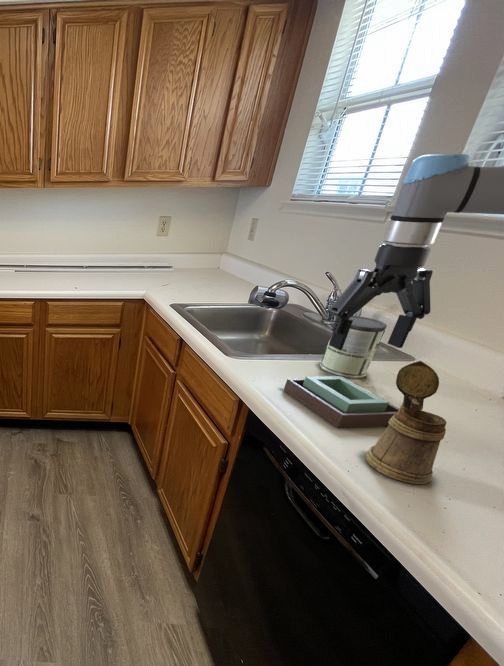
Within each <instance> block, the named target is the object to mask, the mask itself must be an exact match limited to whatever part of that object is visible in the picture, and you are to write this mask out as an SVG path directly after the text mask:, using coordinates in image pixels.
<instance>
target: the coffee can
mask: <svg viewBox="0 0 504 666" xmlns="http://www.w3.org/2000/svg"><path fill="white" fill-rule="evenodd" d="M349 319H351V320H353V322H352V324H351V327H350V330H349V332H348V335H347V338H346V340H345V343H344V346H343V348H342V350H338V349H336V348H334V347H332V346H330V345H329V343H330V340H331V337H332V335H333V332H331V335H330V337H329V340H328V343H327V346H326V348H325V351H324V354H323V356H322V359H321V362H320V364H319V367H320V368H321V369H322V370H324V371H326V373H327V372H328V373H329V374H332V375H334V376H342V377H343V378H351V379H361V378H364V377H366V375H367V372H368V370H369V367H370V365H371V363H372V360H373V358H374V355H375V353H376V351H377V348H378V346H379V344H380V341H381V339H382V337H383V334H384V333H385V330H386V329H387V327H388V325H387V324H386V323H385V322H383V321H381V320H378V319H375V318H370V317H366V316H360V315H353V316H352V317H350V318H349Z"/></svg>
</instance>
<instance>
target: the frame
mask: <svg viewBox="0 0 504 666" xmlns="http://www.w3.org/2000/svg"><path fill="white" fill-rule="evenodd" d="M304 379H305V380H304V383H303V386H302V387H303V388H305V389H306V390H308V391H309V392H311V393H313V394H314V395H316V396H317V397H319V398H320V399H322V400H323V401H325V402H326V403H328V404H330V405H331V406H333V407H334V408H336V409H337V410H339V411H340V412H342V413H372V412H385V410H386V408H387V406H388V404H389V403H390V402H389V401H387V400H385V399H383V398H381V397H380V396H378V395H376V394H374V393H372V392H371V391H369V390H367V389H365V388H363V387H362V386H359V385H358V384H356V383H355V382H352V381H350V380H349V379H348V378H346V377H344V376H339V375H332V376H331V375H327V376H322V375H321V376H305V377H304Z"/></svg>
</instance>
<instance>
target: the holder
mask: <svg viewBox="0 0 504 666" xmlns="http://www.w3.org/2000/svg"><path fill="white" fill-rule="evenodd" d="M304 380H305V378H287V379H286V382H285V385H284V388H283V391H284V392H285V393H287V394H288V395H290V396H292V398H294V399H295V400H297V401H299V402H300V403H301V404H303V405H304V406H306V407H307V408H308V409H310V410H311V411H313V412H314V413H316V414H317V415H319V416H320V417H321V418H323V419H324V420H325V421H327V422H328V423H330V424H331V425H333V426H334V427H336V428H337V429H338V428H339V429H342V428H344V429H345V428H368V427H369V428H370V427H373V428H374V427H388V426H389V423H388V422H389V420H390V418H391V417H392V416H393V415H394V414H397V413H398V411H399V409H400V407H397V406H395V405H394V404H392V403H390V402H389V404H388V406H387V408H386V410H385V412H372V413H342V412H340V411H339V410H337V409H336V408H334V407H333V406H331V405H330V404H328V403H326V402H325V401H323V400H322V399H320V398H319V397H317V396H316V395H314V394H313V393H311V392H309V391H308V390H306V389H305V388H303V387H302V386H303V383H304Z"/></svg>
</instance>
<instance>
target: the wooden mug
mask: <svg viewBox="0 0 504 666" xmlns="http://www.w3.org/2000/svg"><path fill="white" fill-rule="evenodd" d="M395 385H396V388H397V390H398V391H399V392H401V394H402V395H403V398H402V399H403V400H402V403H401V405H400V407H399V411H398V413H397V414H394V415H393V416H392V417H391V418H390V420H389V422H388V423H389V426H386V428H385V430H384V431H383V433H382V434H381V436H380V437H379V438H378V440H377V441H376V443H375V444H374V445H372V446H370V448H369V449H368V451H367V452H366V455H365V460H366V462H367V463H368V465H370V467H372V468H373V469H375V470H376V471H378V472H379V473H381V474H383V475H385V476H387V477H389V478H391V479H394V480H396V481H400V482H404V483H407V484H414V485H425V484H428V483H430V482H431V480H432V476H433V473H434V472H433V471H434V470H433V467H434V463H435V460H436V457H437V453H438V451H439V447H440V444H441V441H443V439H445V435H446V432H447V429H446V425H447V420H446V419H445V418H443V417H442V416H440V415H437V414H434V413H432V412H428V411H425V410H423V408H424V401H425V400H426V399H428V398H431V397H432V396H433V395H435V394H436V393H437V391H438V389H439V386H440V378H439V376H438V373H437V372H436V371H435V369H434V368H432V367H431V366H430V365H428V364H427V363H425V362H423V361H421V360H418V361H415V362H412V363H409V364H407V365H405V366H403V367H401V368H400V369H399V370H398V372H397V375H396V380H395Z"/></svg>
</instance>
